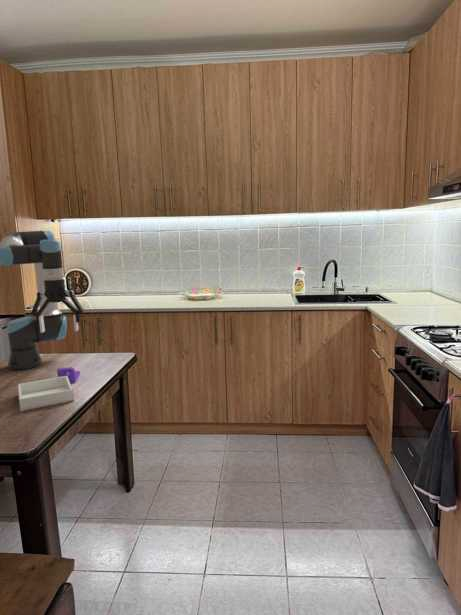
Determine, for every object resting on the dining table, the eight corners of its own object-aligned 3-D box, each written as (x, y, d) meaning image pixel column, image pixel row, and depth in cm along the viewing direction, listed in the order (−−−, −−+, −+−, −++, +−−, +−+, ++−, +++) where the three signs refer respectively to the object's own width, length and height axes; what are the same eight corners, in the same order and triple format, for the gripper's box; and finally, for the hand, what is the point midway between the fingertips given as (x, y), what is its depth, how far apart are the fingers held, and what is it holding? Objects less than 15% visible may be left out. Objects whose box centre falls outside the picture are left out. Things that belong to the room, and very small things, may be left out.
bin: (19, 394, 178) (18, 384, 178) (68, 386, 186) (67, 375, 185) (20, 411, 162) (19, 399, 161) (74, 401, 170) (72, 389, 169)
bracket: (75, 383, 190) (73, 368, 189) (58, 385, 189) (56, 369, 188) (80, 374, 202) (78, 360, 201) (64, 375, 201) (62, 361, 200)
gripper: (17, 281, 171) (24, 334, 175) (83, 278, 172) (88, 332, 176) (25, 279, 178) (32, 330, 182) (88, 276, 179) (93, 327, 183)
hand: (59, 331), depth 179 cm, fingers open, 13 cm apart
